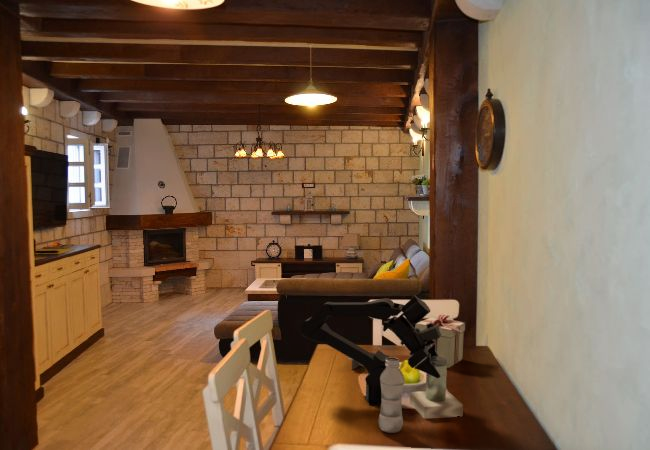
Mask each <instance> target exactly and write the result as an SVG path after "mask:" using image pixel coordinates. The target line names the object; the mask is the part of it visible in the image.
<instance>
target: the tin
mask: <svg viewBox="0 0 650 450" xmlns="http://www.w3.org/2000/svg"><path fill="white" fill-rule="evenodd" d="M431 362H432V364H433V365H434V367H435V368H436V369H437V371H438V373H439V374H440V378H436V377H433V376H431V375H429V374H427V373H425V391H426V399H428V400H430V401H434V402H442V401H445V400H446V390H447V373H448V372H447V369H448V368H447V359H446V358H444V357H439V356H431Z"/></svg>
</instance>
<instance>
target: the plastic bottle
mask: <svg viewBox="0 0 650 450" xmlns="http://www.w3.org/2000/svg"><path fill="white" fill-rule="evenodd" d="M400 365H401V364H400V359H399V358H398V357H392V356H391V357H390V356H389V358H386V363H385V366H386V368H385V370H384V371H383V372H382V374H381V377H380V383H381V396H382V402H381V404H380V413H379V416H378V420H377V421H378V427H379V429H380V430H381V431H382V432H383V433H389V434H394V433H398V432H400V431H402V428H403V423H404V419H403V411H402V398H403V389H404V385H405V384H404V383H405V377H404V374H403V372H402V371H401V370H400Z"/></svg>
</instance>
